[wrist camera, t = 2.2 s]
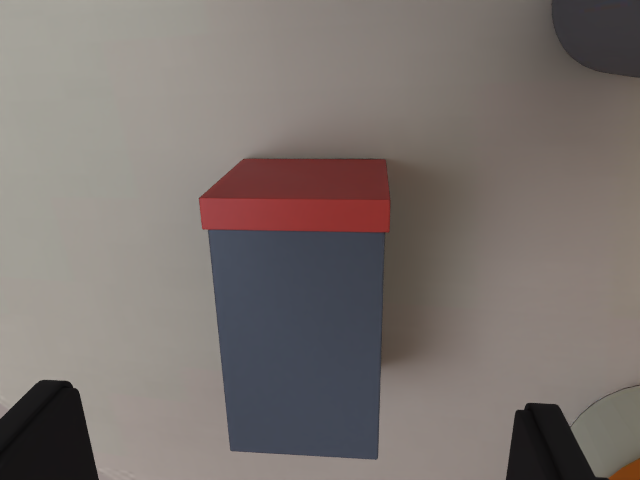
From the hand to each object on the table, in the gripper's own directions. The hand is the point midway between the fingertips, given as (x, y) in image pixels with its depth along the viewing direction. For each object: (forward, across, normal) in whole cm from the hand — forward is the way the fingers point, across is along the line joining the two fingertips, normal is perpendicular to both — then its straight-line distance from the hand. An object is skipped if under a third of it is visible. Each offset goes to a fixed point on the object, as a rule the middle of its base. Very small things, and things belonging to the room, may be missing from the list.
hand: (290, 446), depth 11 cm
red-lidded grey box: (+15, +1, +3) cm, 15 cm away
